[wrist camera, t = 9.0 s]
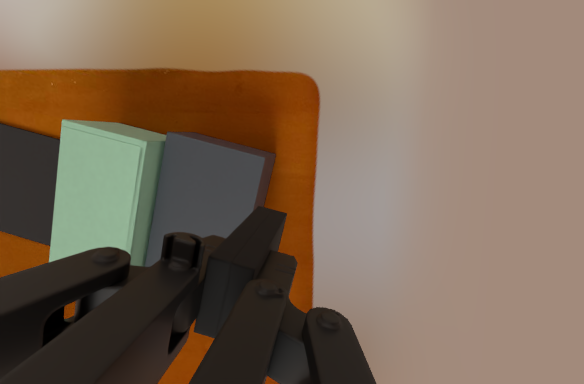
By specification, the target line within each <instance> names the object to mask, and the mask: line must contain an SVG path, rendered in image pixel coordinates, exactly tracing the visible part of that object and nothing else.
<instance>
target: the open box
mask: <svg viewBox="0 0 584 384" xmlns="http://www.w3.org/2000/svg"><path fill="white" fill-rule="evenodd" d="M166 136H167V135H164V134H160V133H156V132H152V131H148V130H144V129H141V128H137V127H133V126H129V125H125V124H121V123H114V122H97V121H80V120H62V127H61V137H60V148H59V159H58V170H57V181H56V191H55V202H54V213H53V224H52V235H51V245H50V256H49V262H52V261H55V260H59V259H62V258H65V257H68V256H71V255H75V254H78V253H81V252H84V251H87V250H91V249H95V248H102V247H115V248H119V249H122V250H125V251H126V252H128V253H129V254H130V256H131V263H130V265H133V266H143V267H145V262H146V256H147V250H148V244H149V238H150V232H151V226H152V220H153V214H154V208H155V202H156V196H157V190H158V184H159V178H160V172H161V166H162V160H163V154H164V148H165V142H166Z"/></svg>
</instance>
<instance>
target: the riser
mask: <svg viewBox="0 0 584 384" xmlns="http://www.w3.org/2000/svg"><path fill="white" fill-rule="evenodd" d="M275 157H276V154H274V153H270V152H267V151H263V150H259V149H255V148H251V147H247V146H244V145H240V144H236V143H232V142H228V141H225V140H221V139H217V138H213V137H209V136H205V135H202V134H198V133H194V132H167V136H166V142H165V148H164V154H163V160H162V166H161V172H160V178H159V184H158V190H157V196H156V202H155V208H154V214H153V220H152V226H151V232H150V238H149V244H148V250H147V256H146V262H145V267H150V266H152V265H153V264H155V263H156V262H157V261H159V260H160V258H161V252H162V246H163V239H164V235H166V234H168V233H174V232H186V233H191V234H195V235H197V236H200V237H201V238H204V237H207V236H211V235H216V236H219V237H223V238H227V237H228V236H229V235H230V234H231V233H232V232H233V231H234V230H235V229H236V228H237V227H238V226H239V225H240V224H241V223H242V222H243V221H244V220H245V219H246V218H247V217H248V216H249V215H250V214H251V213H252V212H253V211H254V210H255V209H256V208H257V207H258V206H261V207H264V203H265V199H266V194H267V190H268V186H269V182H270V178H271V173H272V169H273V165H274V161H275Z"/></svg>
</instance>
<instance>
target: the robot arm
mask: <svg viewBox="0 0 584 384" xmlns="http://www.w3.org/2000/svg"><path fill="white" fill-rule="evenodd" d="M286 216H287V213H283V212H279V211H276V210H272V209H268V208H265V207H261V206H258V207H257V208H256V209H255V210H254V211H253V212H252V213H251V214H250V215H249V216H248V217H247V218H246V219H245V220H244V221H243V222H242V223H241V224H240V225H239V226H238V227H237V228H236V229H235V230H234V231H233V232H232V233H231V234H230V235H229V236H228V237H227V238H223V237H219V236H216V235H211V236H207V237H204V238H201V237H200V236H197V235H195V234H191V233H186V232H174V233H168V234H166V235H164V239H163V246H162V252H161V258H160V260H159V261H157V262H156V263H155V264H153V265H152V266H150V267H143V266H133V265H130V263H131V256H130V254H129V253H128V252H126V251H125V250H122V249H119V248H115V247H102V248H95V249H91V250H87V251H84V252H81V253H78V254H75V255H71V256H68V257H65V258H62V259H59V260H55V261H52V262H49V263H46V264H42V265H39V266H36V267H33V268H30V269H26V270H23V271H20V272H17V273H14V274H10V275H7V276H4V277H1V278H0V384H157V383H158V382H159V380H160V379H161V377H162V376H163V375H164V373H165V372H166V370H167V369H168V367H169V366H170V364H171V363H172V362H173V360H174V359H175V357H176V356H177V354H178V353H179V352H180V350H181V349H182V347H183V346H184V344H185V343H186V341H187V338H188V335H189V330H190V326H191V324H192V323H193V322H194V320H195V319H196V323H195V328H194V332H196V333H199V334H202V335H206V336H209V337H212V338H215V339H214V341H213V343H212V344H211V346H210V348H209V350H208V351H207V353H206V355H205V356H204V358H203V360H202V362H201V363H200V365H199V367H198V369H197V370H196V372H195V374H194V375H193V377H192V379H191V381H190V382H189V384H265V381H266V377H267V376H269V377H270V378H272V379H273V380H275V381H276V382H278V383H280V384H376V382H375V379H374V377H373V375H372V372H371V370H370V368H369V365H368V363H367V361H366V358H365V356H364V353H363V351H362V349H361V346H360V344H359V342H358V339H357V337H356V335H355V333H354V330H353V328H352V325H351V324H350V322H349V321H348V319H346V318H345V317H344V316H343V315H342V314H340V313H339V312H336V311H335V310H332V309H328V308H320V307H316V308H313V309H310V310H309V311H308V312H307V314H306V313H304V312H302V311H300V310H299V309H297V308H296V307H295V306H294V305H293V304H292V303H291V302H290V300H289V293H290V289H291V286H292V282H293V278H294V274H295V270H296V267H297V261H296V259H295V258H294V256H290V255H287V254H283V253H280V252H278V248H279V244H280V240H281V236H282V232H283V228H284V224H285V220H286ZM74 301H76V305H75V315H74V316H72V317H70V318H67V319H64V306H65V305H67V304H70V303H72V302H74Z"/></svg>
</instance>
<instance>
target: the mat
mask: <svg viewBox="0 0 584 384" xmlns="http://www.w3.org/2000/svg"><path fill="white" fill-rule="evenodd" d="M59 148H60V140H59V139H56V138H52V137H48V136H45V135H41V134H37V133H34V132H30V131H26V130H23V129H19V128H15V127H12V126H8V125H4V124H1V123H0V231H2V232H6V233H9V234H12V235H16V236H19V237H22V238H26V239H29V240H32V241H36V242H39V243H42V244H46V245H49V246H50V245H51V235H52V224H53V213H54V202H55V191H56V181H57V170H58V159H59Z"/></svg>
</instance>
